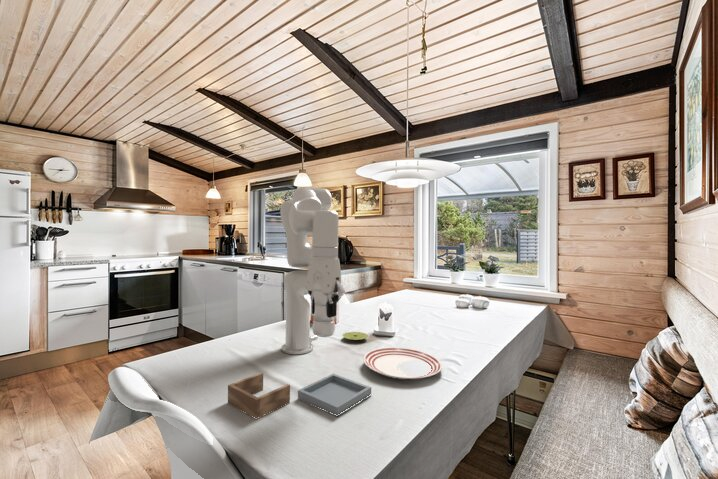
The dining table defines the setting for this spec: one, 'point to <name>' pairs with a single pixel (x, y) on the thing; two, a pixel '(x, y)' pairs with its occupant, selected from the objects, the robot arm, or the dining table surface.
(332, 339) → the dining table surface
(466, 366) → the dining table surface
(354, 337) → the mat
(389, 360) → the dinner plate
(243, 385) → the walnut bay
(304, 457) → the dining table surface
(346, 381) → the grey square tray
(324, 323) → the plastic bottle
